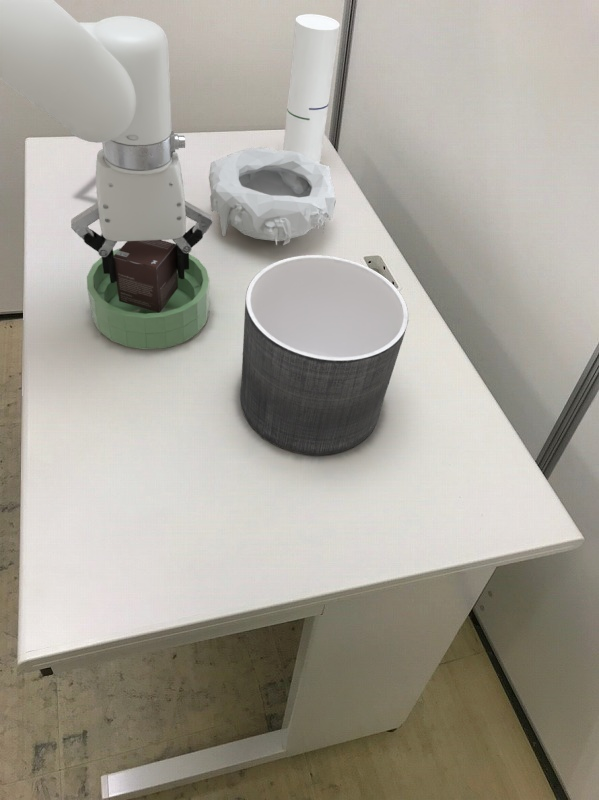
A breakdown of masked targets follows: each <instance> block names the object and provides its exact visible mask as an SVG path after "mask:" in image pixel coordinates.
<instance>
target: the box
mask: <svg viewBox="0 0 599 800" xmlns="http://www.w3.org/2000/svg"><path fill="white" fill-rule="evenodd" d="M120 248H121V249H120V250H119V251H118V252H117V253H116V254H115V255H114V256H113V257H114V266H115V274H116V282H117V290H118V296H119V301H120V302H124V303H127V304H131V305H134V306H138V307H141V308H145V309H148V310H152V311H155V312H158V313H160V312H161V310H162V309H163V307H164V306H165V305H166V303H167V302H168V301H169V299H170V298H171V296H172V295H173V294H174V293H175V291H176V290H177V288H178V280H177V279H178V278H177V253H176V243H175V242H174V243H173V242H171V241H167V240H147V241H125V243H124V244H123V245H122V246H121V247H120Z"/></svg>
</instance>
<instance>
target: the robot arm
mask: <svg viewBox="0 0 599 800" xmlns="http://www.w3.org/2000/svg"><path fill="white" fill-rule="evenodd" d="M170 72H171V71H170V48H169V40H168V37H167V34H166V32H165V31H164V29H163V28H162V27H161V26H160V25H159V24H158V23H156V22H154V21H153V20H149V19H147V18H143V17H139V16H132V15H116V16H115V15H114V16H110V17H106V18H103V19H101V20H99V21H97V22H96V21H94V22H83V21H82V22H80V21H79V22H78V21H77V20H76V19H75V18H74V17H73V16H72V15H71V14H70V13H68V12H67V10H66V9H64V8H63V7H62V6H61V5H60V4H59V3H57V1H56V0H0V81H1V82H3V83H4V84H6V85H7V86H8V87H10V88H11V90H13V91H15V92H16V93H17V94H19V95H20V96H22V97H23V98H24V99H26V100H27V101H28V102H29V103H31V104H32V105H34V107H37V108H38V109H39V110H40V111H42V112H43V113H44V114H46V115H47V116H49V117H50V118H51V119H53V120H54V121H55V122H57V124H59V125H61V127H63V128H64V129H65V130H67V131H68V132H69V133H70V134H71V135H73V136H75V138H78V139H80V140H83V141H85V142H87V143H98V144H99V143H101V144H102V149H100V150H98V152H96V153H97V154H96V160H95V161H96V162H95V187H96V199H97V202H95V203H94V204H92V205H91V206H89V207H88V208H86V209H84V210H83V211H82V212H80V213H79V214H77V215H76V216H74V217H72V218H71V220H70V228H71V230H72V231H73V232H74V233H75V234H77V235H78V237H79V238H81V239H82V240H83V242H84V244H86V245H87V246H88V247H89V248H91V249H93V250H95V252H97V253H98V255H99V257H100V258H101V257H102V263H103V270H104V274H110V281H111V283H115V282H116V274H115V266H114V257H113V256H114V254H113V251H114V247H115V246H116V245H117V243H118V242H127V241H147V240H163V241H169V240H172V241H173V242H174V244H176V253H177V271H178V276H179V278H180V279H185V276H184V270H189V254H190V253H191V252H192V248H194V247H195V246H196V245H197V244H198V243H199V242H200V241H201V240H203V237H204V234H206V233H207V232H208V230H209V229H210V227H211V226H212V225H213V219H212V216H211V214H209V213H207V212H206V211H205V210H203V209H202V208H201V209H200V208H199V207H198V206H195V205H193V204H192V203H190V202H188V201H186V198H185V189H184V181H183V175H182V167H181V162H180V157H179V153H178V152H177V151H176V150H179V149H186V137H185V135H178V133H175V132H174V130H172V106H171V81H170V80H171V75H170V74H171V73H170ZM187 218H188V219H190V220H192V221H194V222H195V225H193V226H192V227H190V228H189V229H188V230H187ZM97 221H99V227H100V231H101V232H100V234H99V233H97V232H96V231H94V230H93V229H91V228H89V226H90V225H92V224H93V223H95V222H97Z"/></svg>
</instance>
